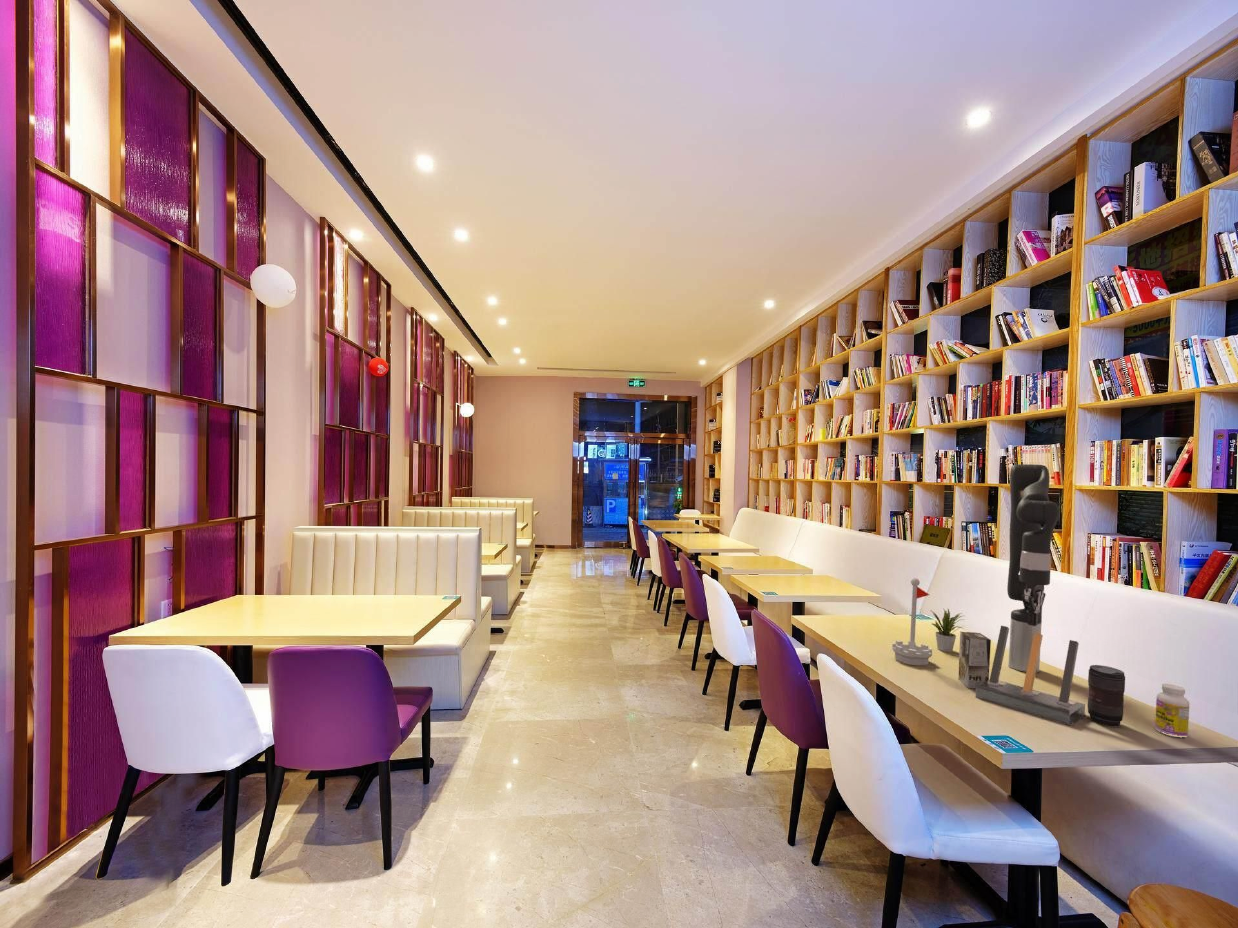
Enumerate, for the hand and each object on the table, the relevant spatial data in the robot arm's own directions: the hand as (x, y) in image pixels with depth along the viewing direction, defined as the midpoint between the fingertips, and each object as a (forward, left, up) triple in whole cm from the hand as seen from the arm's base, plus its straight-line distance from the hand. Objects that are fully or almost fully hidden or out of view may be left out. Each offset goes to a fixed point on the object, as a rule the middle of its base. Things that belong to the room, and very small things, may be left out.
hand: (1032, 625), depth 181 cm
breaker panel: (0, 0, -24) cm, 24 cm away
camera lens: (-5, +17, -24) cm, 30 cm away
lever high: (+2, +9, -20) cm, 22 cm away
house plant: (-39, -39, -24) cm, 60 cm away
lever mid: (+2, 0, -20) cm, 20 cm away
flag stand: (-13, -41, -24) cm, 49 cm away
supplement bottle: (-12, +30, -24) cm, 40 cm away
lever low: (+2, -9, -20) cm, 22 cm away
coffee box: (-5, -17, -24) cm, 30 cm away
